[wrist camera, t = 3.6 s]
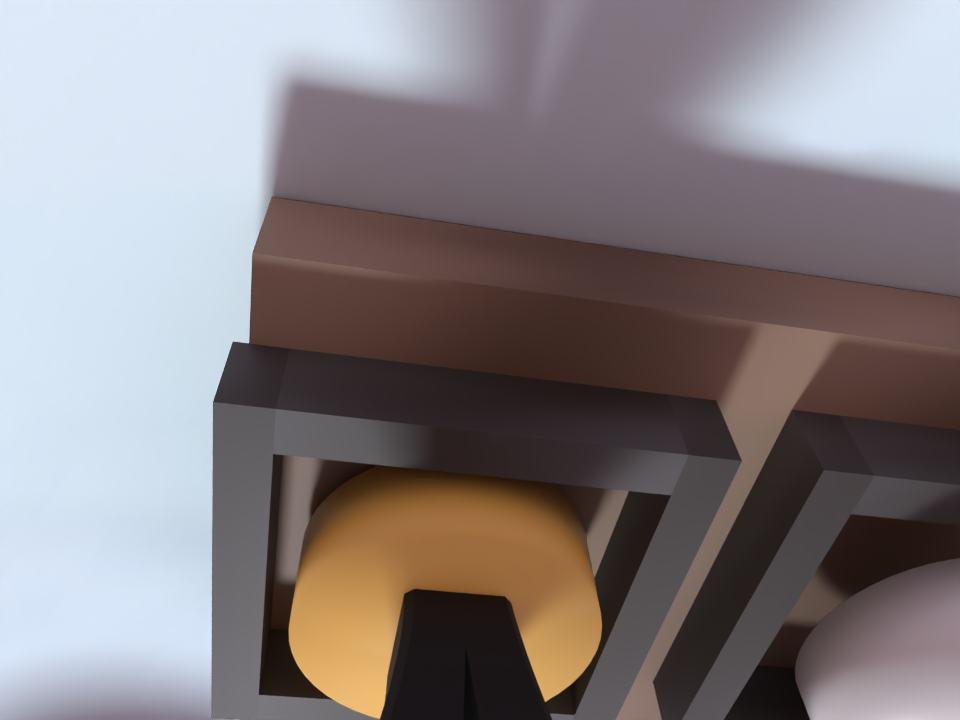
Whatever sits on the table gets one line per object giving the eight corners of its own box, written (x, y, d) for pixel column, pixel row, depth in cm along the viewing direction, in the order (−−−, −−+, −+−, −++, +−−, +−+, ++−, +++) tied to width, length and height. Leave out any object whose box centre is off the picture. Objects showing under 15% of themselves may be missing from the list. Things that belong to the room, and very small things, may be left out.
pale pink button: (1141, 570, 12) (1213, 656, 11) (986, 732, 15) (1032, 817, 13) (868, 543, 12) (915, 631, 10) (753, 718, 14) (782, 804, 13)
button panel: (1569, 387, 14) (1775, 505, 12) (1207, 697, 19) (1305, 819, 17) (256, 194, 11) (213, 306, 9) (240, 624, 16) (210, 761, 14)
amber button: (621, 470, 12) (641, 549, 11) (550, 654, 14) (560, 734, 13) (312, 437, 11) (298, 517, 10) (293, 635, 14) (280, 717, 12)
